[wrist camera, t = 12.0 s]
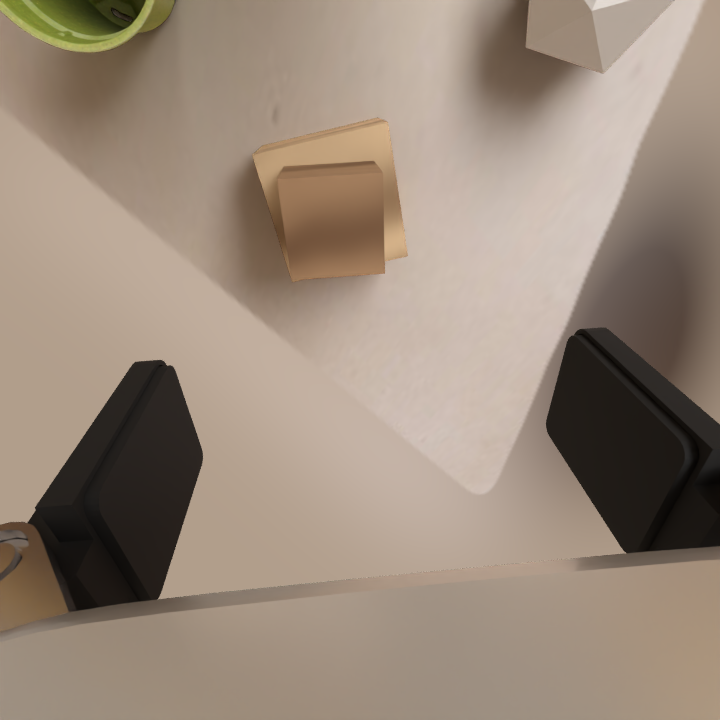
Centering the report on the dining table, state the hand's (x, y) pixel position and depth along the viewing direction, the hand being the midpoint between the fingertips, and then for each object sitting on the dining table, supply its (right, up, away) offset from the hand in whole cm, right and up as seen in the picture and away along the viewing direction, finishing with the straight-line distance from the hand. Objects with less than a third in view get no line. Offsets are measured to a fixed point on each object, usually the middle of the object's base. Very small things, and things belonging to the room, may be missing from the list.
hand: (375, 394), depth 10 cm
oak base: (-3, +15, +24) cm, 29 cm away
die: (+14, +26, +19) cm, 35 cm away
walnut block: (-2, +11, +19) cm, 23 cm away
